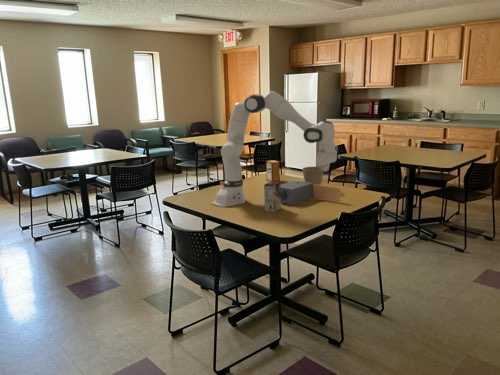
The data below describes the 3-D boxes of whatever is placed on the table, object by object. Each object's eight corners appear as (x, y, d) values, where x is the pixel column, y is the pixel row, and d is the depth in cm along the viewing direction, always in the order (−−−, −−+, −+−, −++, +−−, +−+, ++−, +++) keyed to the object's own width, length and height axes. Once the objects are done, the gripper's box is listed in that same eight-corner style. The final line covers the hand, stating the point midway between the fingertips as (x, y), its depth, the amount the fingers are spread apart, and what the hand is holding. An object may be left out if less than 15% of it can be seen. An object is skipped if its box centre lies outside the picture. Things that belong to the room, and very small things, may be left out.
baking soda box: (279, 181, 318) (279, 161, 314) (272, 182, 315) (271, 162, 312) (273, 179, 326) (273, 159, 323) (266, 180, 324) (266, 160, 320)
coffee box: (272, 206, 249) (271, 181, 246) (281, 208, 246) (280, 182, 242) (264, 210, 242) (263, 184, 238) (274, 212, 239) (273, 185, 235)
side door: (340, 201, 254) (341, 187, 252) (339, 202, 252) (339, 188, 250) (314, 197, 267) (314, 183, 264) (312, 197, 265) (312, 184, 263)
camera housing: (289, 205, 250) (289, 188, 248) (272, 202, 260) (272, 185, 257) (313, 197, 266) (313, 181, 264) (296, 194, 276) (296, 179, 274)
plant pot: (310, 187, 296) (310, 165, 292) (328, 190, 286) (328, 167, 282) (298, 191, 286) (297, 168, 282) (315, 194, 275) (315, 171, 272)
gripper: (323, 151, 233) (322, 174, 237) (339, 146, 249) (338, 168, 252) (313, 150, 237) (313, 173, 240) (329, 146, 253) (329, 167, 256)
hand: (326, 171), depth 246 cm, fingers closed
